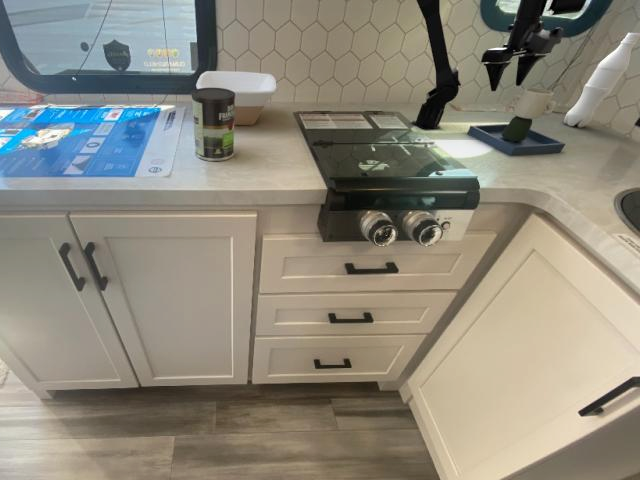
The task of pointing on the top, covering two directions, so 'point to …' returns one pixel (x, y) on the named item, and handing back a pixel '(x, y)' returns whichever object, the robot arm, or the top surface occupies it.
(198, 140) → the coffee can
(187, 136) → the top surface
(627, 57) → the water bottle
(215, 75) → the bowl
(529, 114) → the character mug
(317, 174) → the top surface
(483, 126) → the shallow blue square tray
